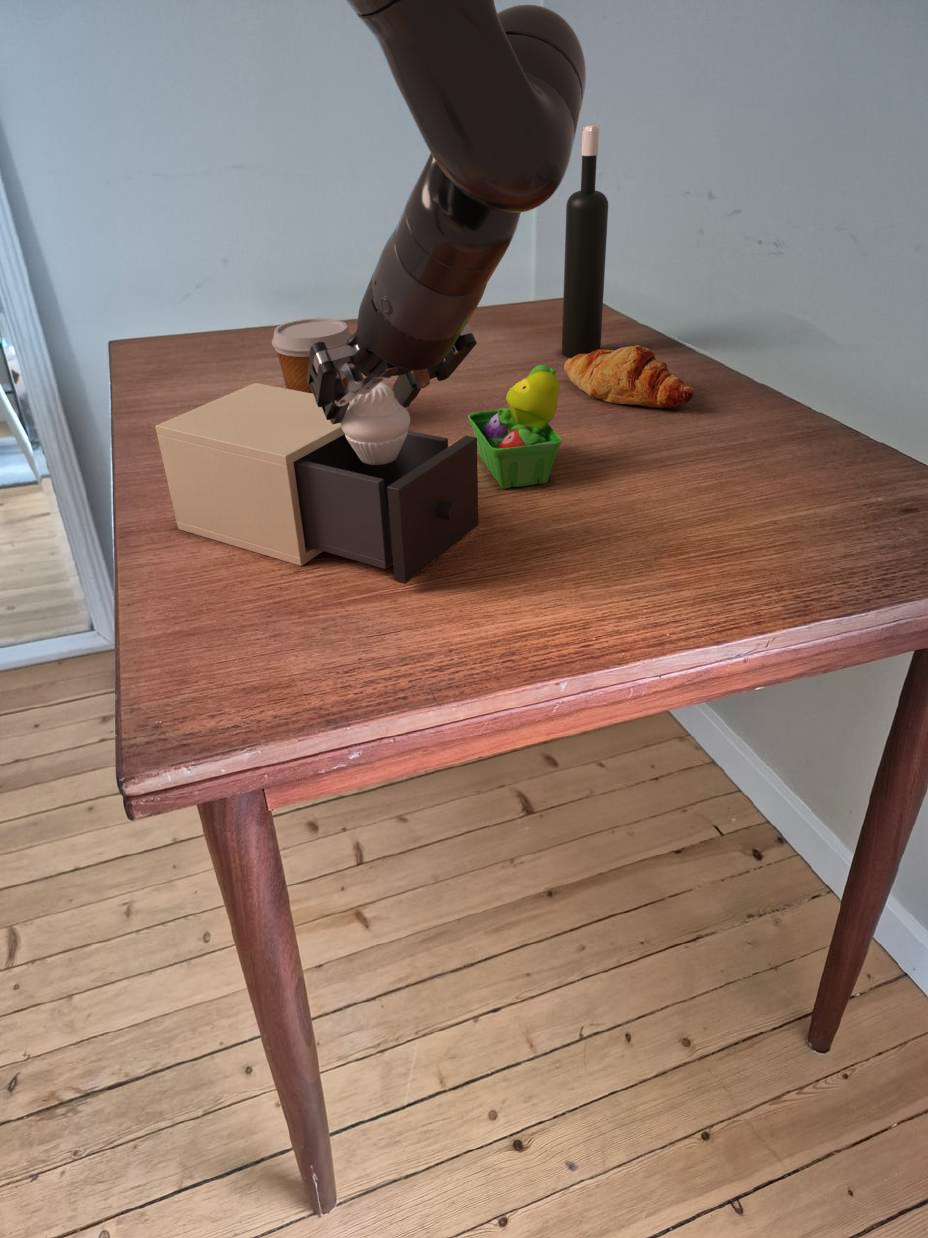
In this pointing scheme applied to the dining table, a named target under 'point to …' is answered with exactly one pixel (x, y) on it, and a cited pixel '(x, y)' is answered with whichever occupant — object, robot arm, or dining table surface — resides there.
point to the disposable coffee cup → (305, 347)
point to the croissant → (627, 378)
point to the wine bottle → (585, 257)
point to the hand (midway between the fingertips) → (365, 406)
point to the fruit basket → (521, 431)
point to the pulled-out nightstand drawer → (390, 502)
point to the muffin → (376, 425)
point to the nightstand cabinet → (245, 468)
